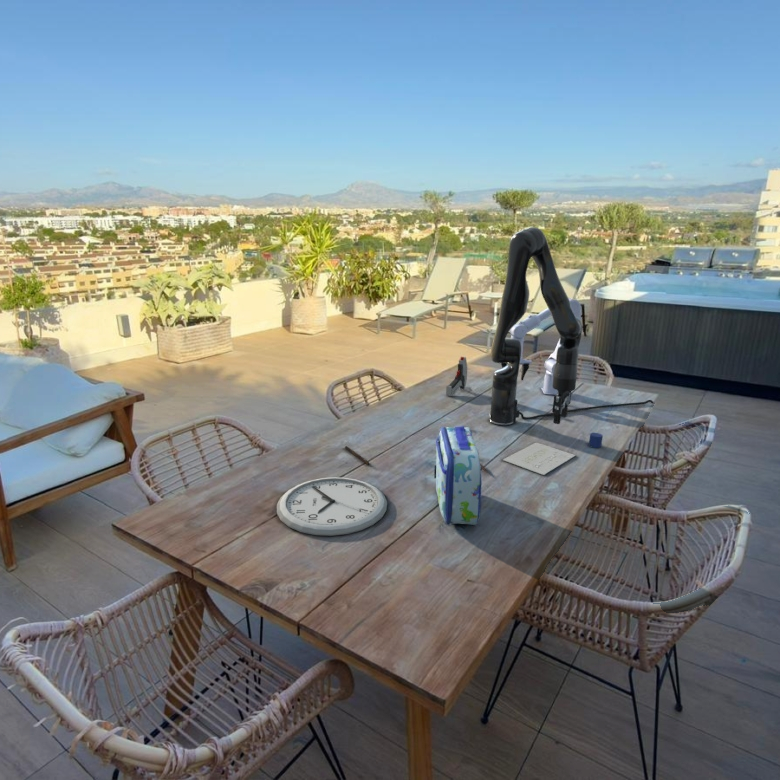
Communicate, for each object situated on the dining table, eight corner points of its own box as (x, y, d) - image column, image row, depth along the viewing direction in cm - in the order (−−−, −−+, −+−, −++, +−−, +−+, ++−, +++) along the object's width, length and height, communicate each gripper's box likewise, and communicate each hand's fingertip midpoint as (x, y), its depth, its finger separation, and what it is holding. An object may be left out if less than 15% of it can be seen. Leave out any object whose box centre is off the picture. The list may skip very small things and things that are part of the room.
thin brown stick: (344, 448, 179) (344, 445, 179) (346, 448, 179) (346, 445, 179) (367, 464, 167) (367, 462, 167) (368, 464, 167) (368, 461, 167)
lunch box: (432, 483, 156) (435, 417, 149) (468, 484, 156) (473, 418, 149) (439, 532, 131) (443, 455, 125) (482, 533, 131) (488, 456, 124)
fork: (483, 474, 162) (483, 469, 161) (463, 454, 176) (463, 448, 176) (491, 474, 162) (491, 468, 162) (470, 453, 177) (470, 447, 176)
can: (592, 442, 188) (593, 431, 187) (603, 445, 186) (604, 434, 184) (586, 445, 186) (588, 434, 184) (597, 448, 183) (599, 437, 182)
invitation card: (535, 442, 186) (575, 454, 176) (535, 442, 187) (575, 455, 176) (502, 459, 172) (543, 474, 162) (502, 460, 172) (543, 475, 162)
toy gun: (446, 363, 232) (463, 355, 243) (446, 397, 237) (462, 387, 249) (450, 364, 230) (467, 356, 242) (450, 398, 236) (466, 388, 247)
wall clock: (392, 527, 129) (268, 531, 127) (391, 533, 130) (269, 537, 127) (383, 473, 158) (282, 475, 155) (383, 478, 158) (282, 480, 156)
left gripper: (570, 381, 171) (565, 428, 176) (581, 372, 183) (576, 416, 187) (548, 378, 175) (543, 423, 180) (559, 369, 187) (555, 412, 191)
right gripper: (500, 352, 234) (498, 381, 238) (533, 353, 233) (530, 382, 237) (499, 348, 241) (497, 376, 245) (531, 349, 239) (528, 378, 243)
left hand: (560, 420), depth 184 cm, fingers open, 8 cm apart
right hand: (513, 379), depth 241 cm, fingers open, 7 cm apart
